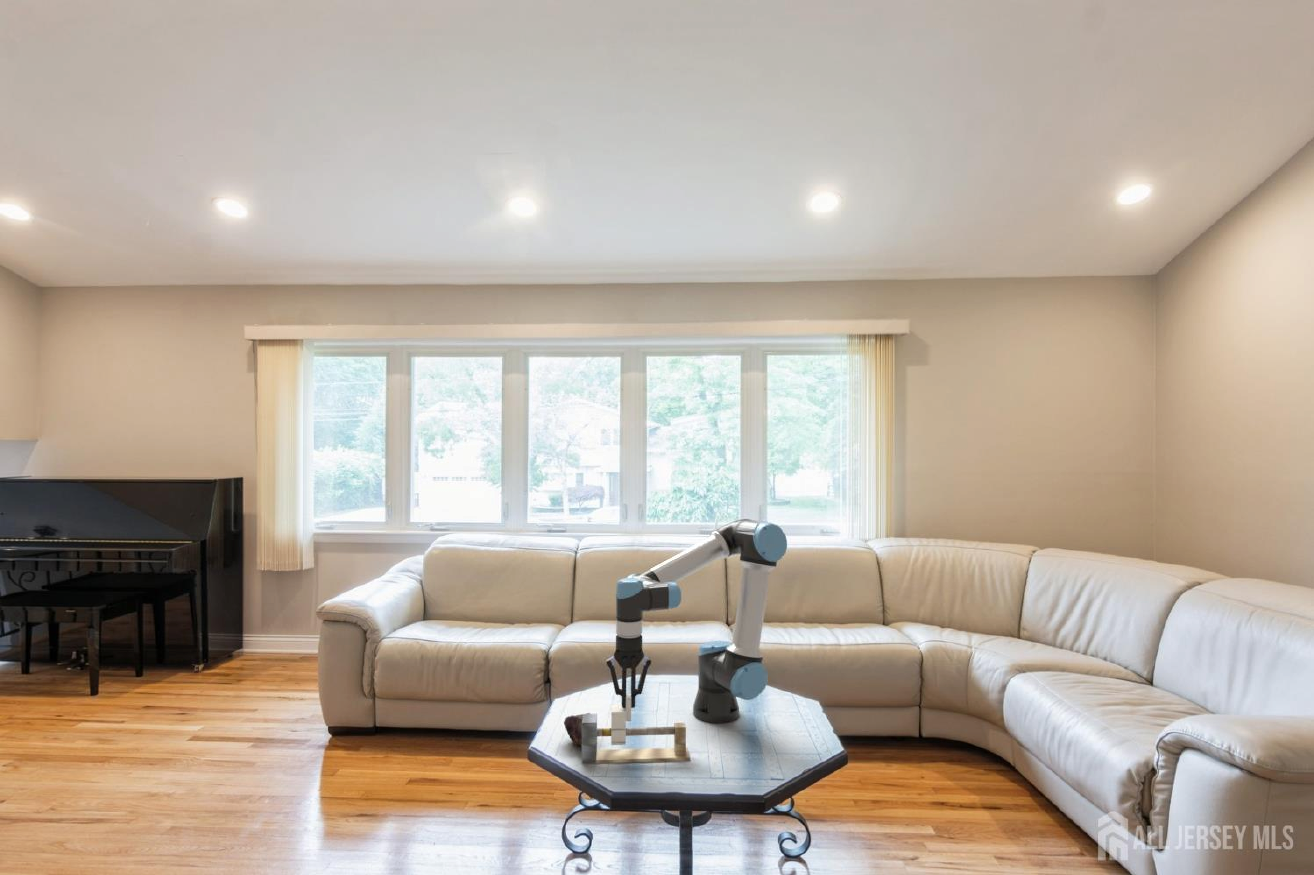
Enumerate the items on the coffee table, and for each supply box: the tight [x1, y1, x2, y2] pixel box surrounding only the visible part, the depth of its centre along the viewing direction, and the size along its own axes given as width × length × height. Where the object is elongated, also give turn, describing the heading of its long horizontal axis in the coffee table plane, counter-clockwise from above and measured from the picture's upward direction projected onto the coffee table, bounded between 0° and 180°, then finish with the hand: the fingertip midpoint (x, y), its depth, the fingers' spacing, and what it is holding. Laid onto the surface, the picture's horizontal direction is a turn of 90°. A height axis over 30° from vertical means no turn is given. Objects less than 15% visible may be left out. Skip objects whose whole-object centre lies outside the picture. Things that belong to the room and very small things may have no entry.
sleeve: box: [610, 704, 627, 746], centre depth 175 cm, size 4×5×9 cm
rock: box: [563, 712, 591, 747], centre depth 184 cm, size 12×9×10 cm
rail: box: [581, 713, 691, 764], centre depth 175 cm, size 30×6×11 cm, turn 94°
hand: (628, 719), depth 175 cm, fingers closed
